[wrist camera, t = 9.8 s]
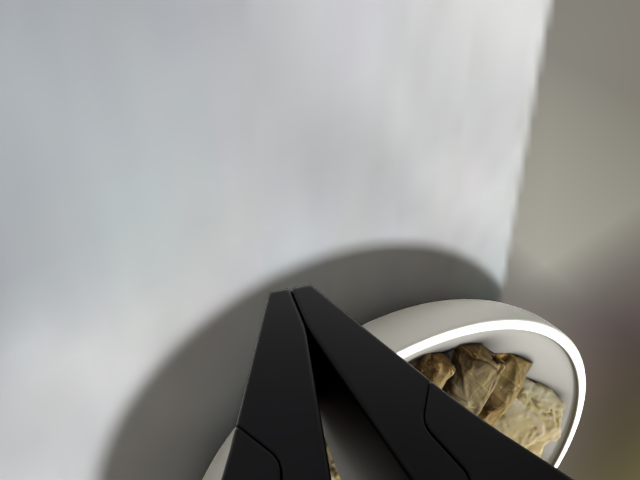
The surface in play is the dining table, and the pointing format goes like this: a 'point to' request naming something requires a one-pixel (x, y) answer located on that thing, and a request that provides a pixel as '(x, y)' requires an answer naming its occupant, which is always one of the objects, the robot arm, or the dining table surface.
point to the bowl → (486, 370)
